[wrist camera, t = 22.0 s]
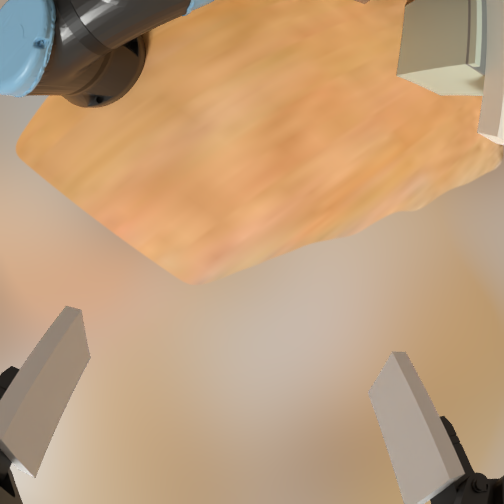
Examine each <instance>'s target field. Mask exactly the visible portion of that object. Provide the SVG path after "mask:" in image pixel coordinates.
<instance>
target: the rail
mask: <svg viewBox="0 0 504 504" xmlns="http://www.w3.org/2000/svg"><path fill="white" fill-rule="evenodd" d="M486 4H487V52H486V68H485V80H484V89H483V98H482V105H481V112H480V118H479V124H478V130H477V133H479V134H481V135H482V136H484V137H486V138H488V139H489V140H491V141H493V142H495V143H497V144H501V145H504V0H486Z"/></svg>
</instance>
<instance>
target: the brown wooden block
mask: <svg viewBox="0 0 504 504" xmlns="http://www.w3.org/2000/svg"><path fill="white" fill-rule="evenodd" d="M355 1H358V2H361V3H364V4H365V3H367V2H368V1H369V0H355Z"/></svg>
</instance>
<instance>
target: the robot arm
mask: <svg viewBox="0 0 504 504" xmlns="http://www.w3.org/2000/svg"><path fill="white" fill-rule="evenodd" d="M213 1H214V0H8V1H7V2H6V3H5V4H4V6H3V7H2V8H1V9H0V94H2V95H12V96H15V97H22V96H25V95H61V96H63V97H64V98H65V99H67V100H68V101H69V102H71V103H72V104H74V105H77V106H80V107H102V106H106V105H109V104H111V103H113V102H115V101H117V100H118V99H120V98H121V97H123V96H124V95H125V94H126V93H127V92H128V91H129V90H130V89H131V88H132V87H133V85H134V84H135V82H136V81H137V79H138V78H139V76H140V73H141V71H142V68H143V65H144V61H145V44H144V41H143V38H142V36H141V35H142V34H144V33H146V32H148V31H150V30H152V29H154V28H156V27H158V26H160V25H162V24H164V23H166V22H169V21H171V20H173V19H175V18H177V17H180V16H186V15H188V14H189V13H190V12H191V11H193V10H195V9H197V8H200V7H202V6H204V5H207V4H209V3H211V2H213ZM89 360H90V353H89V349H88V344H87V339H86V333H85V328H84V322H83V316H82V310H80V309H76V308H72V307H69V306H66V307H65V308H64V309H63V311H62V312H61V313H60V314H59V316H58V317H57V318H56V320H55V321H54V322H53V324H52V325H51V326H50V328H49V329H48V330H47V332H46V333H45V334H44V336H43V337H42V338H41V340H40V341H39V343H38V344H37V345H36V347H35V348H34V350H33V351H32V352H31V354H30V355H29V357H28V358H27V360H26V361H25V363H24V364H23V366H22V367H21V369H17V368H15V367H13V366H11V367H10V368H8V369H7V370H6V371H4V372H3V373H2V374H1V375H0V504H23V503H22V500H21V498H20V495H19V492H18V489H17V487H16V484H15V481H14V478H13V475H12V472H11V470H10V465H11V463H13V464H14V466H15V467H16V468H17V469H18V470H20V471H22V472H24V473H26V474H28V475H30V476H32V477H34V478H36V475H37V472H38V470H39V467H40V465H41V462H42V460H43V457H44V455H45V452H46V450H47V448H48V445H49V443H50V441H51V438H52V436H53V434H54V432H55V429H56V427H57V425H58V423H59V420H60V418H61V416H62V414H63V412H64V409H65V408H66V405H67V403H68V401H69V399H70V397H71V395H72V393H73V391H74V389H75V387H76V385H77V383H78V381H79V379H80V377H81V375H82V373H83V371H84V369H85V367H86V365H87V363H88V362H89ZM368 394H369V397H370V400H371V403H372V406H373V408H374V411H375V414H376V417H377V420H378V423H379V426H380V428H381V431H382V435H383V438H384V440H385V444H386V447H387V450H388V453H389V456H390V459H391V462H392V465H393V469H394V472H395V475H396V478H397V482H398V485H399V488H400V491H401V495H402V499H403V502H404V504H424V503H426V502H427V501H429V500H430V501H431V504H504V476H503V477H501V478H500V479H487V478H486V476H485V475H483V474H481V473H475V472H474V471H473V469H472V467H471V465H470V463H469V460H468V458H467V456H466V454H465V451H464V449H463V447H462V445H461V444H460V441H459V438H458V437H457V436H456V432H455V430H454V428H453V426H452V424H451V423H450V422H449V421H448V420H447V419H446V418H445V417H444V416H442V417H439V415H438V413H437V411H436V409H435V407H434V405H433V403H432V401H431V399H430V397H429V395H428V393H427V391H426V389H425V387H424V385H423V383H422V381H421V380H420V378H419V376H418V374H417V372H416V370H415V368H414V366H413V365H412V363H411V361H410V359H409V357H408V355H407V354H406V352H392V353H391V355H390V356H389V358H388V360H387V362H386V364H385V365H384V367H383V369H382V371H381V372H380V374H379V376H378V377H377V379H376V380H375V382H374V384H373V385H372V387H371V389H370V390H369V392H368Z"/></svg>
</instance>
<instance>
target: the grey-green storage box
mask: <svg viewBox="0 0 504 504" xmlns="http://www.w3.org/2000/svg"><path fill="white" fill-rule="evenodd" d="M486 52H487V4H486V0H415V1H413V2H411V3H409V4H408V5H406V6H405V13H404V23H403V32H402V40H401V48H400V55H399V62H398V68H397V74H396V76H398V77H401V78H403V79H406V80H408V81H410V82H413V83H415V84H417V85H419V86H422V87H424V88H426V89H428V90H430V91H432V92H434V93H437V94H439V95H472V96H483V89H484V80H485V68H486Z"/></svg>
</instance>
